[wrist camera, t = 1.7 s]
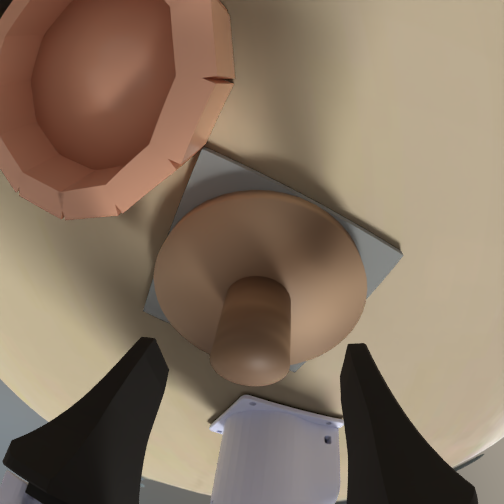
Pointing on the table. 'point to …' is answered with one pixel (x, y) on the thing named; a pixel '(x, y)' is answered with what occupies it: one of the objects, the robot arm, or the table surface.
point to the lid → (260, 283)
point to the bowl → (107, 97)
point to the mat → (244, 178)
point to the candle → (4, 6)
